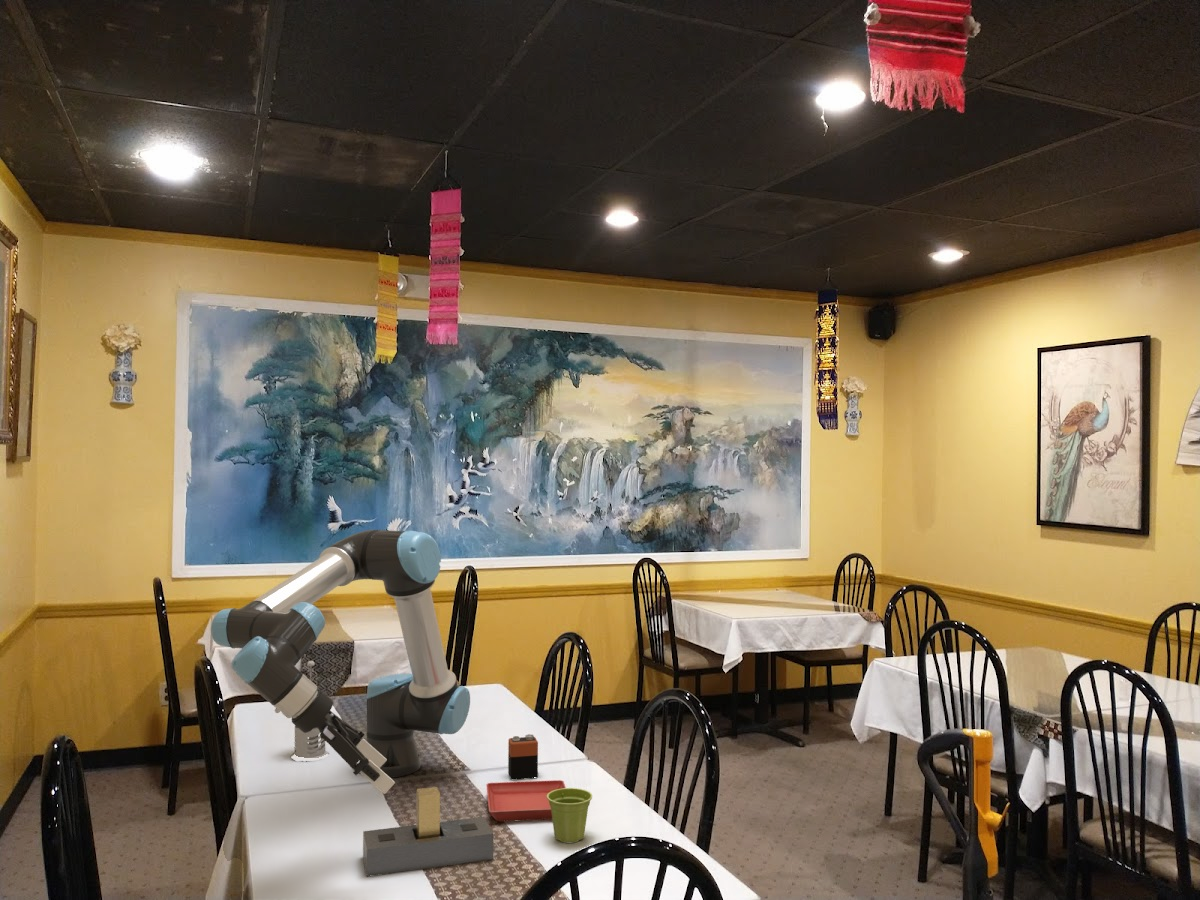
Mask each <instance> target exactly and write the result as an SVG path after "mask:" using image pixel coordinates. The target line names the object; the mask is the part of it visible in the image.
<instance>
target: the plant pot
mask: <svg viewBox="0 0 1200 900" xmlns="http://www.w3.org/2000/svg"><path fill="white" fill-rule="evenodd" d="M547 799H548V800H549V805H550V807H551V812H552V819H551V820H552V826H553V827H552V828H553V833H554V839H555V840H556V841H558V840H559V841H560V842H561V843H565V844H567V843H569V844H570V843H572V844H573V843H577V842H579V841H580V840H583V839H584V838H585V833H586V824H587V818H588V810H589V806H590V803H591V800H592V799H593V794H592V793H591V792H590V791H588V790H586V789H582V788H575V787H566V788H562V789H557V790H553V791H551V792H549V793H548V794H547Z"/></svg>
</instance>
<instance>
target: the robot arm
mask: <svg viewBox="0 0 1200 900" xmlns="http://www.w3.org/2000/svg"><path fill="white" fill-rule="evenodd" d="M441 562H442V557H441V552H440V547H439V546H438V543H437V542H436V540H435V539H434V538H433V536H431V535H430V534H428V533H426V532H422V531H421V532H420V531H415V530H381V529H380V530H379V529H368V530H367V529H366V530H363V531H359V532H356V533H354V534H351V535H349V536H347V537H345V538H343V539H341V540H338V541H337V542H335V543H332V544H331V545H330V546H328V547H326V548H325V549H324V550H322V551H321V553H320V554H319V556H318V558H317V559H316V560H315V561H313V562H311V563H310V564H308V565H306V566H305V567H303V568H302V569H301V570H298V571H297V572H296V573H294V574H293V575H291V576H290V577H288V578H287V579H285V580H283V581H282V582H280V583H278V584H277V585H276V586H274V587H273V588H270V589H269V590H268V591H266V592H265V593H263V594H261V595H259V597H257V598H255V599H254V600H252V601H251V602H249V603H247V604H246V605H244V606H242V607H241V608H235V607H231V608H224V609H222V610H219V612H217V613H216V614H215V616H214V617H213V619H212V622H211V625H210V633H211V637H212V640H213V642H214V643H215V644H217V645H218V646H221V647H226V648H230V649H240V650H239V651H238V652H237V654H236V655H235V656H234V657H233V659H231V662H230V663H231V664H230V666H231V669H232V670H233V671H234V672H235V674H236V675H238V677H239V678H240V679H241V680H243V682H244V683H245V684H246V685H248V686H249V687H250V688H252V689H253V691H256V692H257V693H258V694H259V695H260V696H261V697H262V698H263V699H265V700H266V701H267V702H268V703H270V704H271V706H273V707H274V708H275V709H274V712H275V714H279V713H281V714H282V715H283V716H284V717H286V719H291V723H292V724H293V725H294V727H295V726H297V727H298V728H299V729H300V730H301V731H302V732H304V733H307V732H310V731H311V730H312V729H313V728H316V727H317V728H318V729H319V731H320V732H321V733H320V734H319V736H321V738H322V739H324V740H325V743H327V744H328V745H329V746H330V747H331V748H332V749H333V750H334V751H335V752H336V754H338V755H339V756H340V757H341V759H343V761H344V762H346V764H347V765H348V766H349V767H350V768H351V769H352V770H353V772H352V774H354V776H356V777H357V776H358V775H359V774H361V775H362V777H364V778H365V779H366V780H367V781H368V782H370V783H371V784H372V786H374V787H375V788H376V789H377V790H379V792H381V793H382V794H384V795H385V794H386V793H387V792H388V791H389V790H390V789H391V788H392V787H393V786H394V784H396V782H395V781H394V780H393V778H397V777H404V776H407V775H410V774H411V775H412V774H413V773H415V772H417V771H419V770H420V768H421V755H420V753H419V752H418V746H417V742H416V739H415V735H414V734H415V731H417V732H424V733H432V734H437V735H438V734H439V735H443V734H444V735H454V734H456V733H458V732H459V731H460V730H461V729H462V728H463V726H464V725H465V722H466V720H467V718H468V715H469V711H470V707H471V694H470V690H469V688H467V687H465V686H463V685H459V684H458V679H457V676H456V674H455V673H454V672H453V671H452V670H449V669H448V664H447V660H446V655H445V650H444V646H443V645H444V644H443V641H442V636H441V632H440V631H441V630H440V628H439V623H438V618H437V613H436V610H435V609H436V608H435V605H434V600H433V595H432V587H433V586H434V584H435V582H436V579H437V578H438V576H439V574H440V571H441V565H440V563H441ZM358 580H359V581H361V580H374V581H375V580H376V581H382V582H383V586H384V590H385V593H386V594H387V595H388V596H389V597H392V598H394V602H395V606H396V611H397V615H398V620H399V625H400V628H401V632H402V637H403V641H404V642H403V643H404V645H405V649H406V654H407V658H408V662H409V667H410V670H411V671H410V672H411V673H406V672H405V673H396V674H389V675H382V676H379V677H377V678H374V679H372V680H371V681H370V682H369V683H368V685H367V690H366V691H367V692H366V697H365V699H366V739H365V738H364V736H365V733H364V732H363V731H361V730H360V731H359V730H357V729H355V728H354V727H352V725H350V724H349V723H347V722H345V721H344V720H343V719H341V718H340V717H339V716H338V715H336V714H335V713H334V712H333V711H331V710H332V707H333V705H334V701H333V699H332V698H330V697H329V696H328V695H327V694H326V693H325V692H323V690H318V686H317V685H316V684H315V683H314V682H313V681H312V679H311V680H310V679H309V678H308V677H307V676H306V675H305V674H304V673H302V672H301V671H300V670H299V669H298V668H297V667H296V665H297V664H298V663H299V661H300V660H301V659H302V658H303V657H304V655H305V654H306V653H307V651H308V650H310V648H311V647H312V646H313V644H314V643H315V642H316V641H317V639H318V638H319V636H320V634H321V633H322V631H323V630H324V628H325V627H326V619H325V616H324V614H323V612H321V610H320V609H319V608H318V607H317V606H316V605H314V603H316V602H318V601H319V600H320V599H322V597H325V596H326V595H327V594H329V593H331V592H332V591H333V590H334V589H336V588H337V587H346V586H347V585H349V584H350V583H352V582H354V581H358ZM321 738H320V739H321Z"/></svg>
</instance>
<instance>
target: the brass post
mask: <svg viewBox="0 0 1200 900" xmlns="http://www.w3.org/2000/svg"><path fill="white" fill-rule="evenodd" d="M439 790H440V789H439V788H438V787H437V786H432V787H424V788H423V787H422V788H417V789H416V794H415V796H416V797H415V798H416V800H415V802H416V803H415V804H416V808H415V811H416V812H415V819H416V820H415V821H416V822H415V825H416V840H417V839H425V838H433V837H440V822H441V793H440V791H439Z"/></svg>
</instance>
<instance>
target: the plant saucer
mask: <svg viewBox="0 0 1200 900" xmlns="http://www.w3.org/2000/svg"><path fill="white" fill-rule="evenodd" d="M562 788H567V787H566V784H565V781H564V780H561V779H559V780H558V779H557V780H555V779H553V780H532V781H504V782H501V781H500V782H487V783H486V794H487V805H488V806H487V807H488V812H489V813H490V815H491V816H492V817H493V818H494V820H495V821H497V822H514V821H515V820H520V821H535V820H536V821H539V820H552V812H551V807H550V805H549V800H548V799H547V794H548V793H549V792H551V791H553V790H557V789H562ZM515 822H516V821H515Z"/></svg>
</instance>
